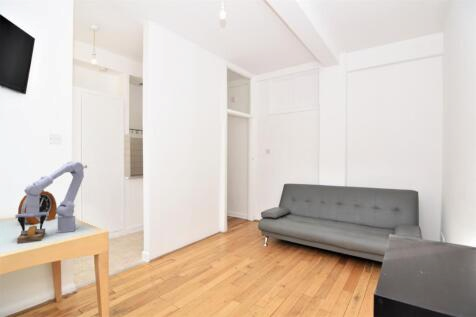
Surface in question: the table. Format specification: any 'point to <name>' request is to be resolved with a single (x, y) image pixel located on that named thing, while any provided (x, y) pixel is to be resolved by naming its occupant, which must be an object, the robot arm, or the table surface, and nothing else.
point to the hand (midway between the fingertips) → (32, 229)
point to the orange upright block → (32, 230)
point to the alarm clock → (40, 208)
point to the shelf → (31, 236)
